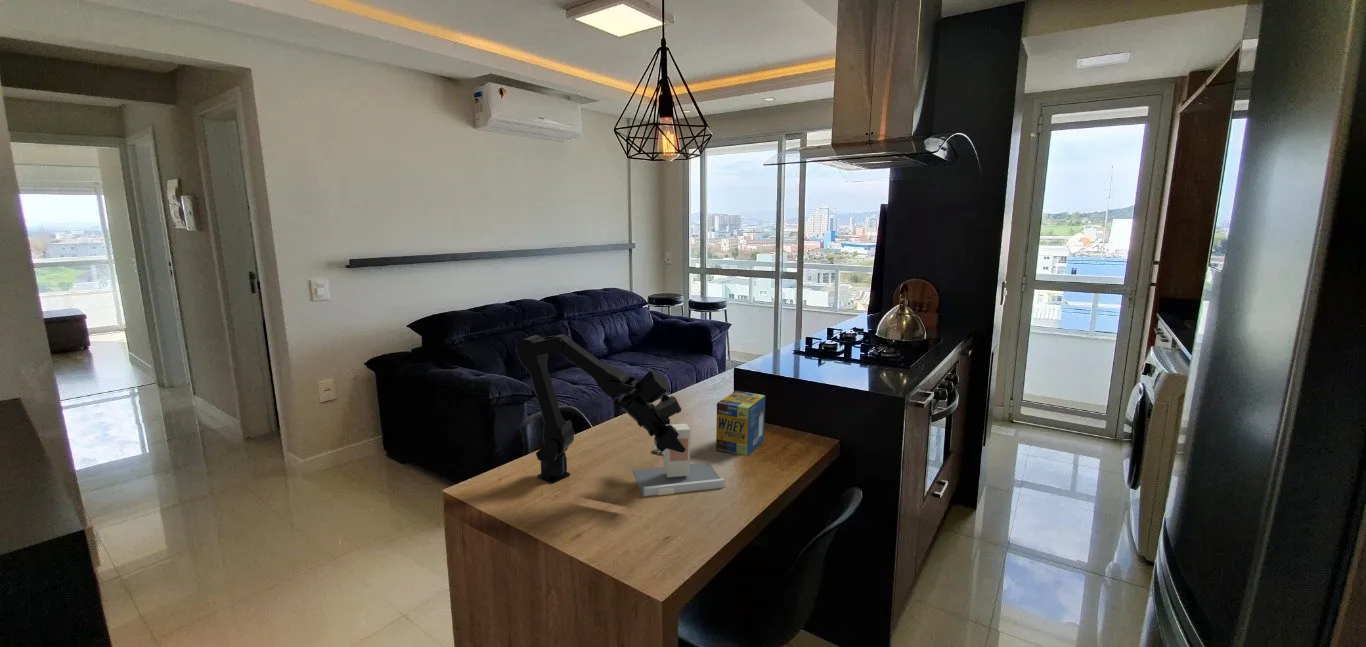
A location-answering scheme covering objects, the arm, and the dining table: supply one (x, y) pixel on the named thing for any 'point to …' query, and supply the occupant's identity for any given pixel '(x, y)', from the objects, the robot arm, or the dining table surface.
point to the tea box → (678, 454)
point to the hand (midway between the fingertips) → (682, 447)
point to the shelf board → (677, 480)
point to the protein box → (740, 423)
